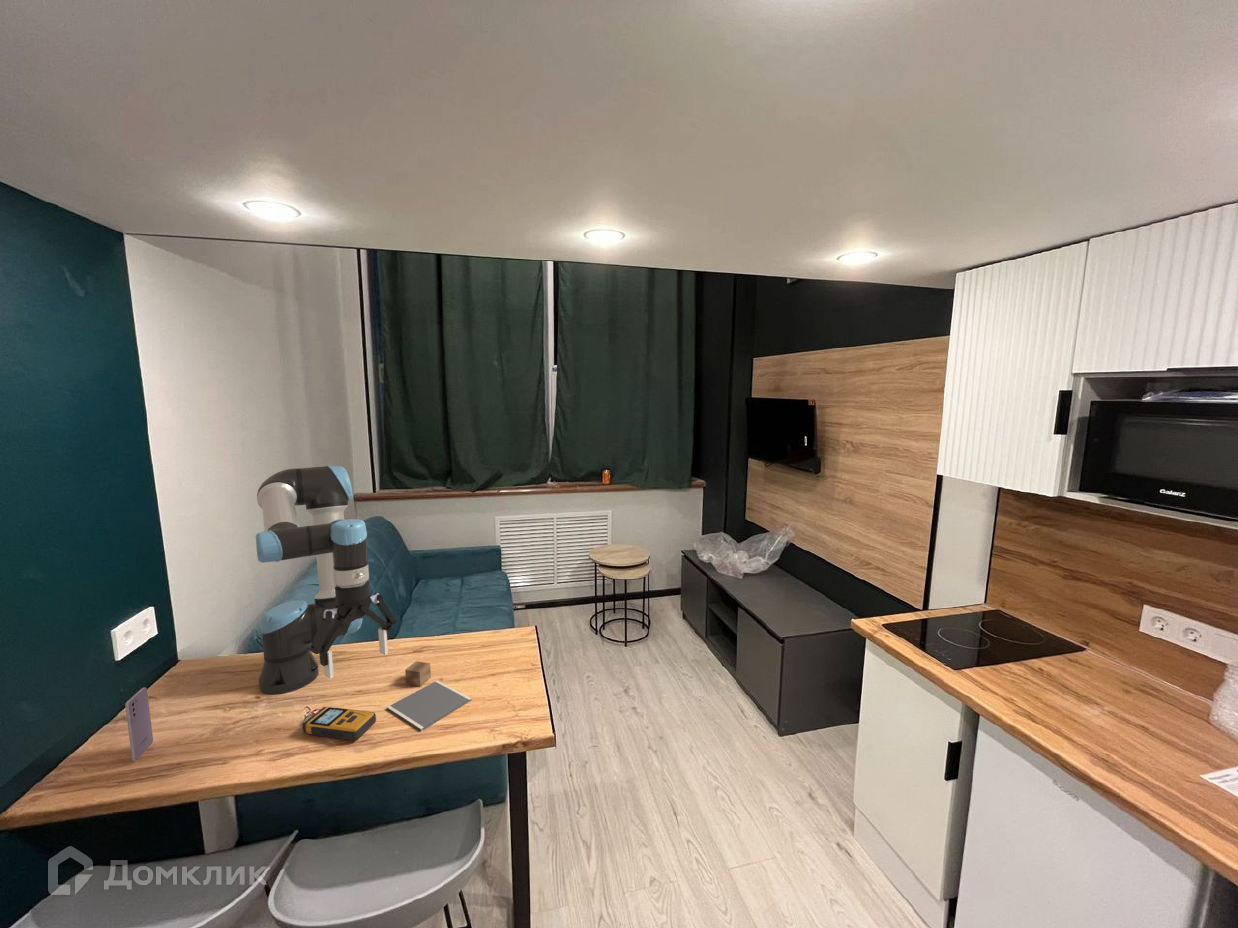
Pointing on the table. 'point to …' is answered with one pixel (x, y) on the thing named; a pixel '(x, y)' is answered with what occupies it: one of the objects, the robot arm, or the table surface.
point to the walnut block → (418, 674)
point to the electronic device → (339, 723)
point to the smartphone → (139, 723)
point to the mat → (428, 705)
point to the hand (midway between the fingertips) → (357, 664)
